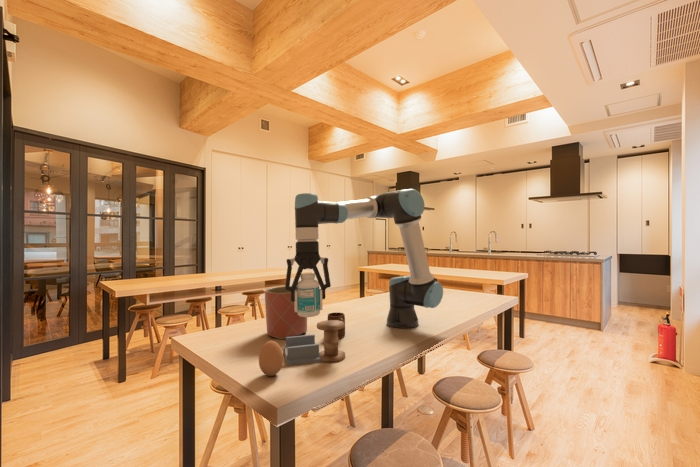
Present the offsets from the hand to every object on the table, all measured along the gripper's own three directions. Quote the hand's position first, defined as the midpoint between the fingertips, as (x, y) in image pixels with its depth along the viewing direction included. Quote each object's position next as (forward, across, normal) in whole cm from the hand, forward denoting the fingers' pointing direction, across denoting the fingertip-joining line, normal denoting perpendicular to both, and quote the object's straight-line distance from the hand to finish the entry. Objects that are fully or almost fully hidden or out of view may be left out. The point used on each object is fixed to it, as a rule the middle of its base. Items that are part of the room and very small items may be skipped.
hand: (308, 310), depth 104 cm
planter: (+20, +4, -42) cm, 47 cm away
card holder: (+19, +1, -14) cm, 24 cm away
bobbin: (+19, -9, -8) cm, 23 cm away
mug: (+20, -16, -29) cm, 39 cm away
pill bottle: (+2, 0, 0) cm, 2 cm away
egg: (+20, +12, 0) cm, 23 cm away
